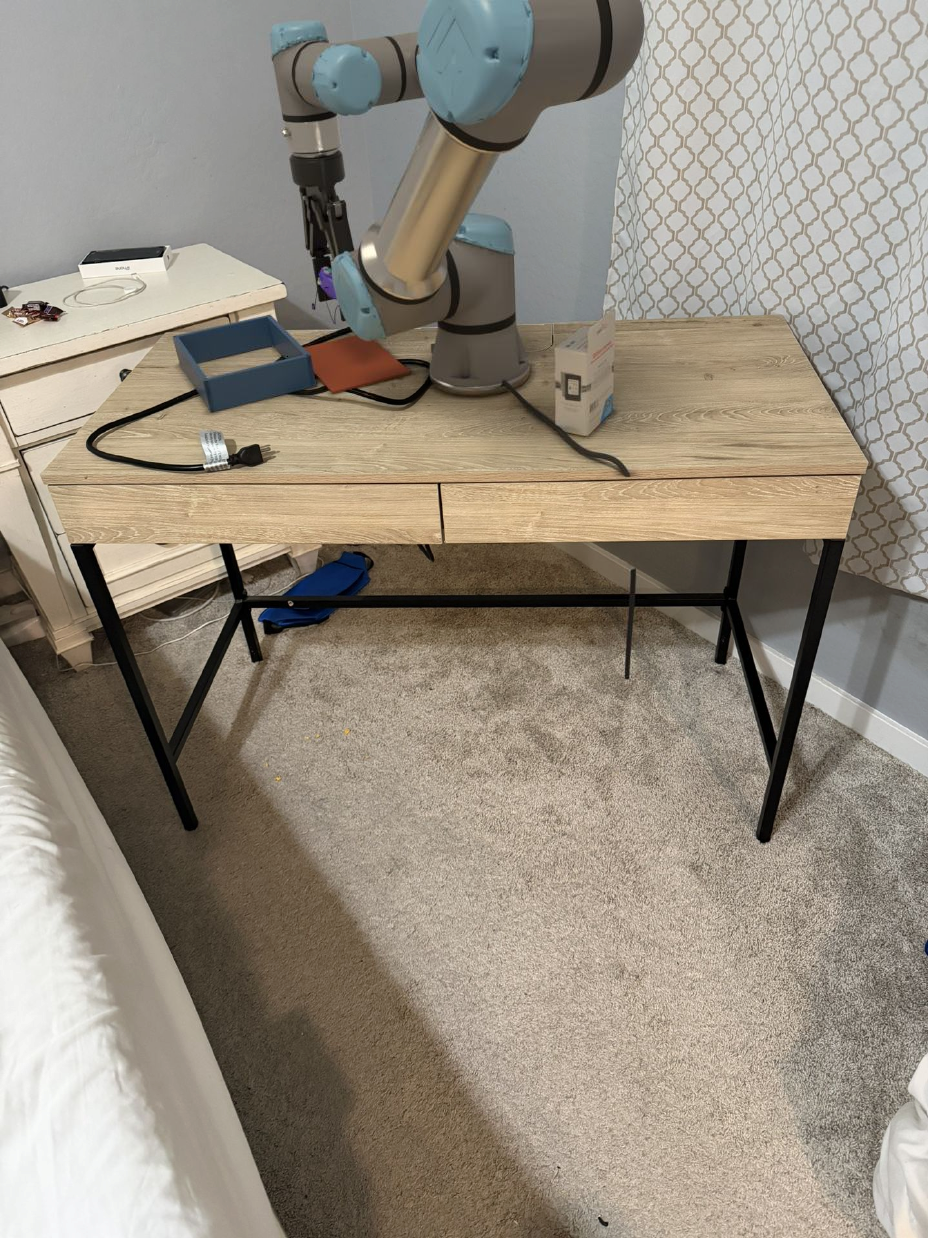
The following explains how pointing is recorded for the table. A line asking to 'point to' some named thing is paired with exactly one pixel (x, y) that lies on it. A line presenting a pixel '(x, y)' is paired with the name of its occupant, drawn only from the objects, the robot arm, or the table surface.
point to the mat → (353, 363)
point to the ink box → (585, 377)
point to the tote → (248, 381)
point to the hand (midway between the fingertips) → (338, 308)
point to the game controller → (326, 285)
